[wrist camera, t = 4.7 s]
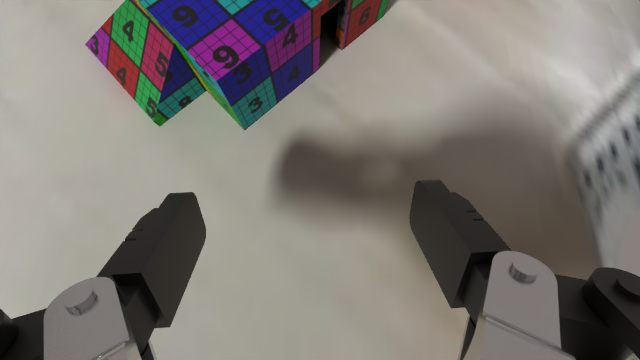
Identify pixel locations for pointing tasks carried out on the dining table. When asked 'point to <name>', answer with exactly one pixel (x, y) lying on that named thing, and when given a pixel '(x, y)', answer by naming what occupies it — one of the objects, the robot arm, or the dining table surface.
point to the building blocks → (221, 50)
